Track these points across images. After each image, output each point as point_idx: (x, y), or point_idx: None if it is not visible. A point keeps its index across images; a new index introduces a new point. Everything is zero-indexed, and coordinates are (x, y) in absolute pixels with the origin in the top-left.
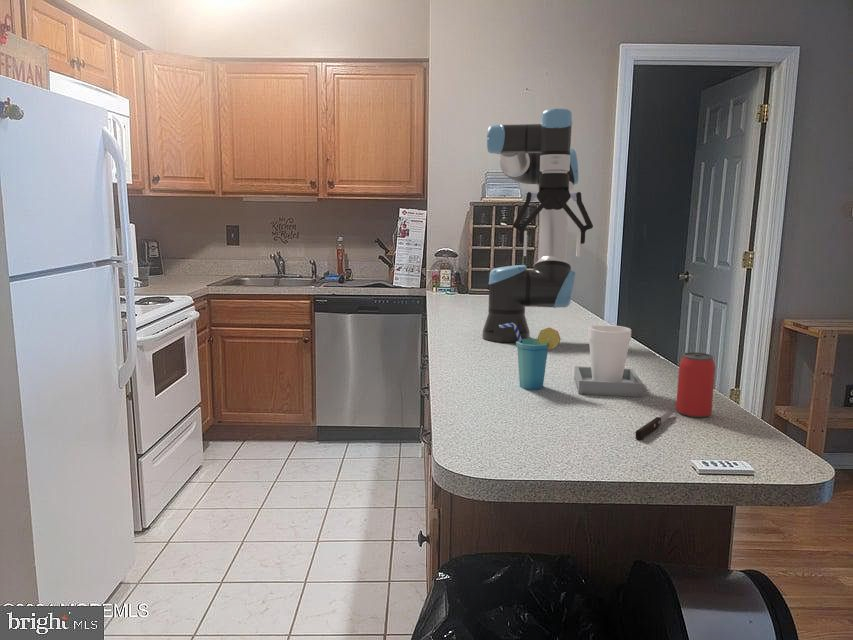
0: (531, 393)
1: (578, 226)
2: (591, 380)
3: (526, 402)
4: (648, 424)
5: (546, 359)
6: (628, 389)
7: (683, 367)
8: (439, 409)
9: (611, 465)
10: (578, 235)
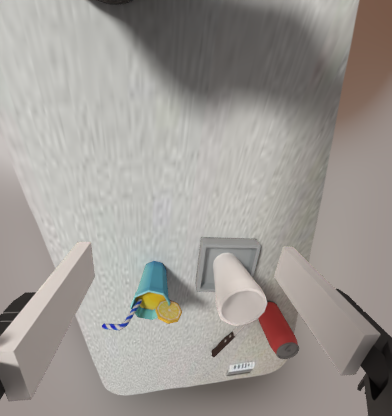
0: None
1: (368, 410)
2: (214, 255)
3: None
4: (222, 347)
5: (167, 289)
6: None
7: (270, 346)
8: (82, 330)
9: (189, 376)
10: (328, 351)
